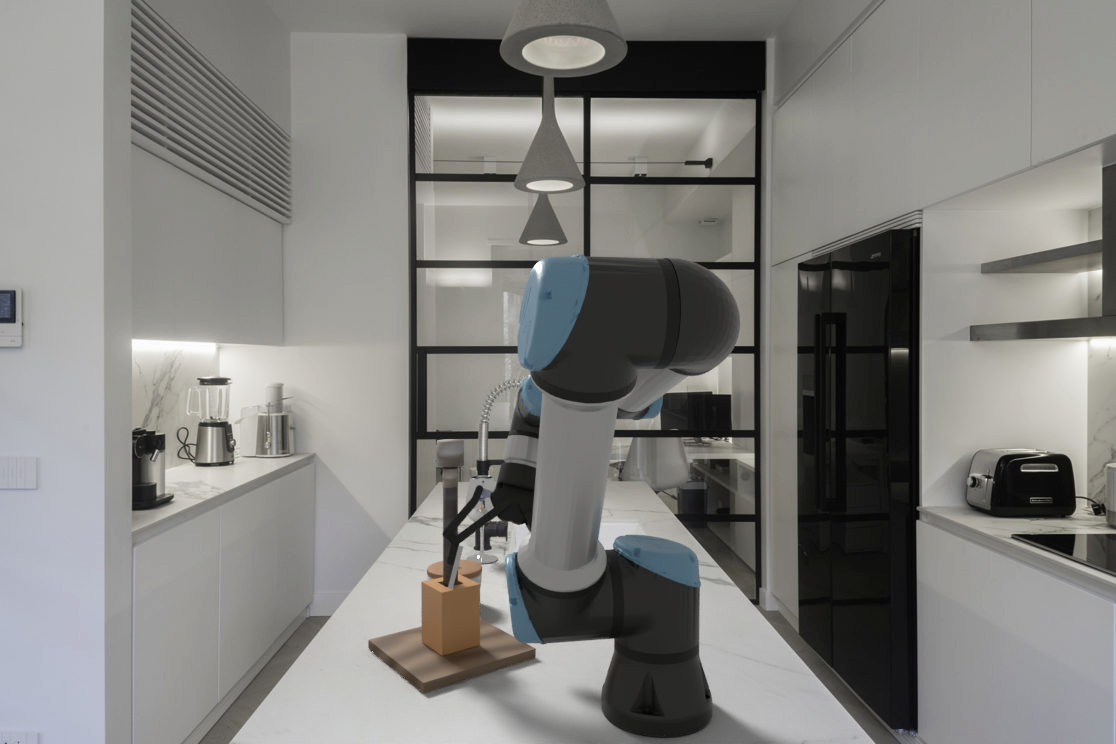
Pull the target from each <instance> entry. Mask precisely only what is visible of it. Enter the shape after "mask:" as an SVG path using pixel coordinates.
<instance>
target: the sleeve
mask: <svg viewBox="0 0 1116 744" xmlns="http://www.w3.org/2000/svg"><path fill="white" fill-rule="evenodd" d="M480 618H481V587H480V584H479V583H477V582H475V581H472V580H470V579H468V578H466V577H464V576H462V575H460V574H458V585H455V586H453V589H450V588H448V587H445V586H443V577H441V578H437V579H432V580H428V579H427V580H423V581H421V626H422V642H423V643H424V644H425V645H427V646H428V647H430V648H431V649H433V650H434V651H436V652H437V653H438V654H440V655H441V656H443V655H447V654H450V653H454V652H457V651H461V650H464V649H468V648H471V647H475V646H478V645H480Z"/></svg>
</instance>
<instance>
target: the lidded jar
mask: <svg viewBox="0 0 1116 744" xmlns="http://www.w3.org/2000/svg"><path fill="white" fill-rule="evenodd" d="M482 572H483V566H482V564H479V563H477V562H474V561H470V560H466V559H460V562H459V566H458V574H460V575H462V576H464V577H466V578H468V579H470V580H472V581H475V582H477V583H479V584H480V588H481V586H482V579H483V578H482V575H483V574H482ZM426 574H427V580H432V579H437V578H441V577H443V560H440V561H436V562H433V563H431V564H429V565H428V566H427V567H426Z"/></svg>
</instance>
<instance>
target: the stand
mask: <svg viewBox="0 0 1116 744" xmlns="http://www.w3.org/2000/svg"><path fill="white" fill-rule="evenodd" d="M464 447H465V440H464V439H460V438H459V439H456V438H455V439H452V438H448V439H439V440H438V439H437V440H436V466H437V467H442V509H443V510H442V532H443V531H444V530H445V529H446V527H447V526H448V525H449V524H450V523H451V522H452V520H453V519H454V518H455V517H456V516H457V515H458V513H459V491H458V490H459V467H463V466H464V465H465V448H464ZM453 534H454V535H456V536H457V535H458V534H459V526H458V527H457V529H456V530H455V531H454V532H453ZM450 548H451V543H450V542H449V541H448V540H447V539H445V538H444V537H443V536H442V561H443V586H445V587H448V585H449V581H450V578H451V574H452V570H453V566H451V565H447V559H448V556H449V552H450ZM455 585H458V570H457V574H456V578H455V582H454V586H455ZM367 641H368V642H367V643H368V647H367V648H369V649H370V651H371V652H372V651H373V652H374V653H375V656H377V657H378V658H379V657H380V658H379V659H381V660H382V661H383V662H384V663H385V664H387V665H388V666H389V667H391V668H392V669H393V670H395V671H396V672H397V673H398V674H399V675H400V676H401V677H403V678H404V679H405V680H407V682H409V683H410V684H411V685H412V686H414V687H415V688H416V689H417V690H419V691H420V692H421V693H423V694H426V693H429V692H432V691H435V690H438V689H442V688H445V687H447V686H451V685H454V684H457V683H460V682H463V681H467V680H470V679H473V678H477V677H479V676H482V675H486V674H489V673H493V672H495V671H499V670H502V669H504V668H507V667H511V666H512V667H513V666H514V665H518V664H520V663H523V662H527V661H531V660H534V659H536V657H537V656H536V655H537V654H536V651H537V650H536V649H537V648H535V647H534V646H532V645H530V644H529V643H521V642H519V641H518V640H517V639H516V638H515V637H514V635H513V634H510V633H508V632H506V631H504V630H503V629H501V628H499V627H497V626H496V625H494V624H492V623H490V622H488V621H486V620H484V619H483V618H481V617H480V645H478V646H475V647H471V648H468V649H464V650H461V651H457V652H454V653H450V654H447V655H443V656H441V655H440V654H438V653H437V652H436V651H434V650H433V649H431V648H430V647H428V646H427V645H425V644H424V643H423V642H422V625H421V626H417V627H414V628H410V629H406V630H405V629H404V630H402V631H398V632H394V633H389V634H385V635H382V636H378V637H375V638H370V639H368V640H367ZM369 649H368V650H369ZM373 652H372V653H373ZM374 653H373V654H374Z"/></svg>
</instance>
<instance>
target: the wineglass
mask: <svg viewBox="0 0 1116 744" xmlns="http://www.w3.org/2000/svg"><path fill="white" fill-rule="evenodd" d="M468 483H469V484H468V486H467V492H466V498H465V505H466V504H467V503H468V502H469V501H470V499H471V498H472V497H473V494H474V491H475V489H476V487H477V486H478V485H481V486H482V487H483V488H485V489H487V490H490V491H493V490H494V489H495V487H496V483H495V480H494V476H492V475H484V474H483V475H473V476H471V477H470V478H469V482H468ZM493 508H494V507H493V505H492V502H491V500H490V498H489V497H487V498H485V500H484V501H479V502H478V503H477V505H476V506H475V507H474V509H473V510H472V511H471V512H470V513H469V514H468V516H467V517H468V518H469V519H470V520H471V521H472V522H473V523H474V522H475V521H477V520H478V519H480V518H481V517H482V516H484V515H485V514H486V513H487V512H489V511H490V510H491V509H493ZM490 522H491V521H489V522H488V523H490ZM484 530H485V525H484V526H483V527H481V528H480V529H479V531H480V533H479V535H480V538H479V539H480V540H479V541H480V550H479V553H478V554H477V553H476V554H472V555H469V556H467V557H466V559H465V560H470V561H474V562H477V563H479V564H481V565H482V564H483V565H484V564H485V565H486V564H491V563H495V562H497V560H498V557H497V555H493V554H489V553H485V549H484Z"/></svg>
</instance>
